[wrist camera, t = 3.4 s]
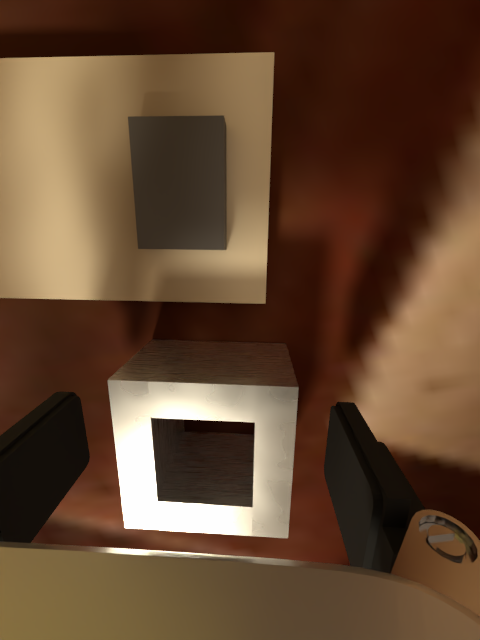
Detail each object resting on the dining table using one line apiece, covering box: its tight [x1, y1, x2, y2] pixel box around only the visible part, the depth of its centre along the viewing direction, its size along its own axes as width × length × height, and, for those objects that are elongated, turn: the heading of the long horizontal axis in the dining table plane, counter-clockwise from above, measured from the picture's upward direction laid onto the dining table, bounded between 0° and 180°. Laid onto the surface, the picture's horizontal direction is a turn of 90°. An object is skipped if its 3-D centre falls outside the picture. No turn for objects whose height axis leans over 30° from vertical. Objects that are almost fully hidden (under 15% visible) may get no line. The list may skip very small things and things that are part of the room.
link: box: [108, 339, 299, 538], centre depth 12 cm, size 6×6×4 cm
